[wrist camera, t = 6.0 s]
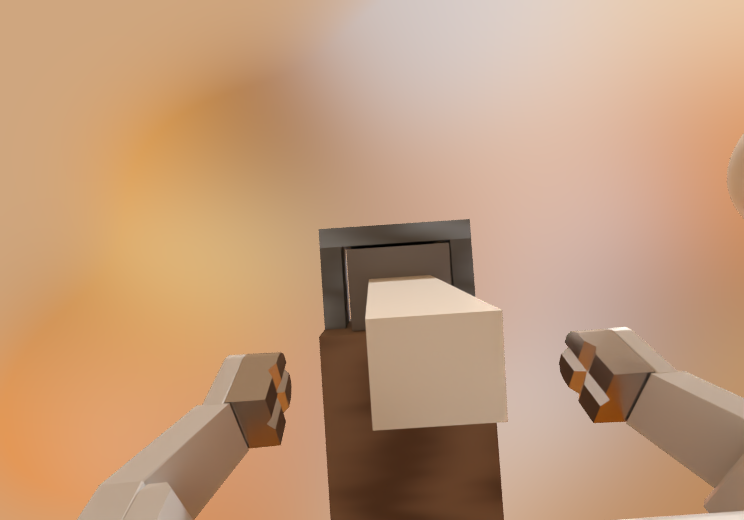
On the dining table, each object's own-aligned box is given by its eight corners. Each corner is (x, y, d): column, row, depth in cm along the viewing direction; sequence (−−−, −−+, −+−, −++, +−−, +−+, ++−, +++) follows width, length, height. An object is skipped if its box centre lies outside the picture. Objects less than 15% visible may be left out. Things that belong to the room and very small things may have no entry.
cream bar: (437, 308, 20) (433, 243, 20) (552, 419, 7) (545, 238, 7) (356, 314, 20) (351, 249, 20) (327, 433, 7) (314, 254, 7)
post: (493, 746, 19) (455, 226, 20) (532, 904, 15) (480, 213, 15) (359, 754, 19) (326, 235, 20) (355, 916, 15) (312, 224, 15)
